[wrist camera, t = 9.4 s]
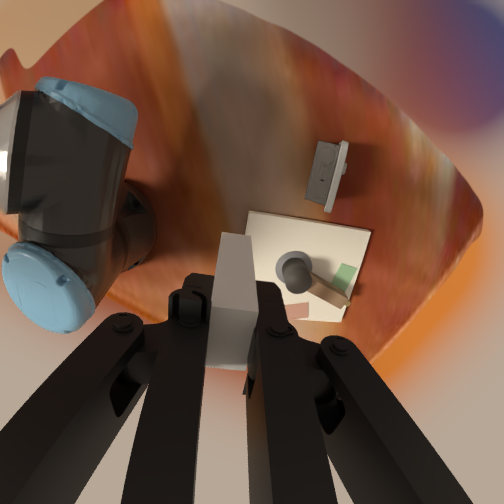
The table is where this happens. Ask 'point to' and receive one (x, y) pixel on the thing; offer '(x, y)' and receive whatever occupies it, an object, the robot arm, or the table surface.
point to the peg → (311, 283)
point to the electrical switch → (326, 173)
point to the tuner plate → (306, 258)
